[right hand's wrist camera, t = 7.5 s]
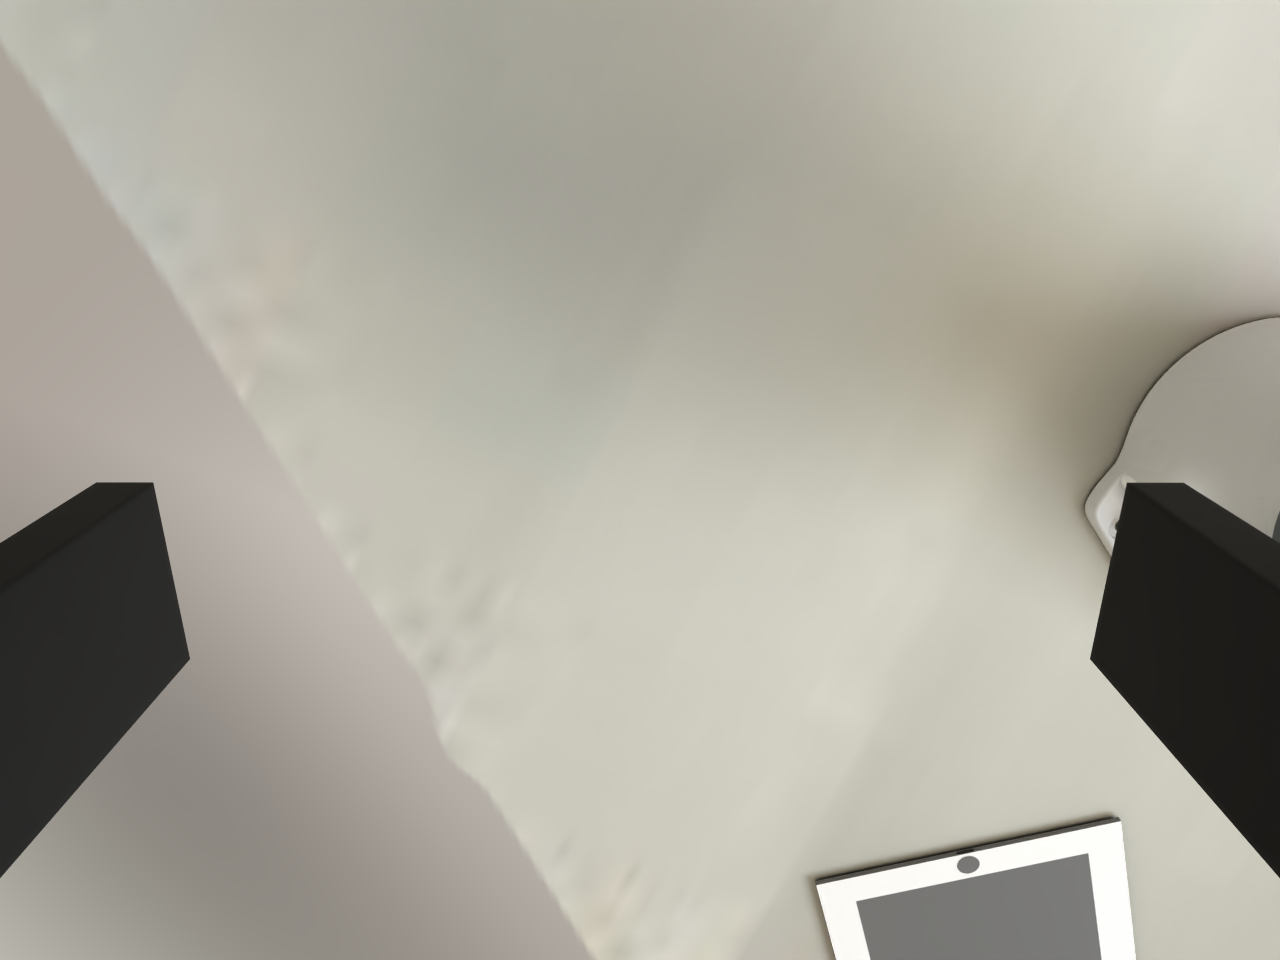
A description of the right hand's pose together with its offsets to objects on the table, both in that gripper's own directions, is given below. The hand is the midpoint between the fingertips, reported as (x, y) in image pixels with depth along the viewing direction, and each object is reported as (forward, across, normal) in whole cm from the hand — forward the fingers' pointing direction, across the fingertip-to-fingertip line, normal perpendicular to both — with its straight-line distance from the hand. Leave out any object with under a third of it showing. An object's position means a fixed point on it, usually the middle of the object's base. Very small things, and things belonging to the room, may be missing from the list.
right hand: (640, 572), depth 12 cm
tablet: (+36, +26, -54) cm, 69 cm away
